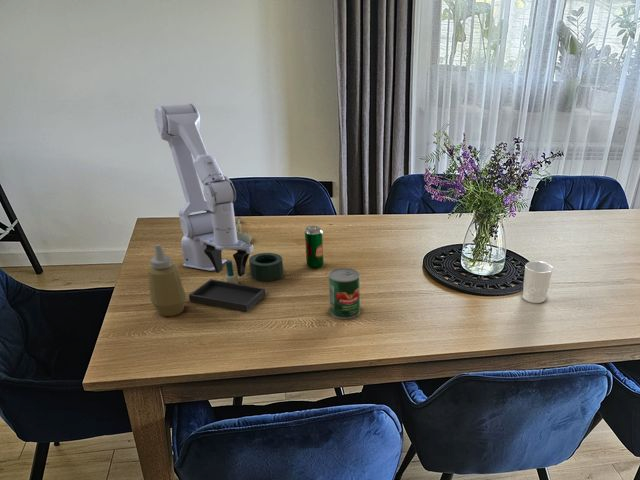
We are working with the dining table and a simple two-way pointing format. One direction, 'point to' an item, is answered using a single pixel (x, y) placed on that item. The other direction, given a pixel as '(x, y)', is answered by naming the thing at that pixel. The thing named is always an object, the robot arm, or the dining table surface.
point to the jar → (266, 267)
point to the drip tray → (227, 295)
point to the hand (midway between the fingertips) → (230, 273)
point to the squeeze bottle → (165, 284)
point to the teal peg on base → (230, 273)
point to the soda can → (314, 247)
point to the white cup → (536, 281)
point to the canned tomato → (344, 293)
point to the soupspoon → (242, 233)
